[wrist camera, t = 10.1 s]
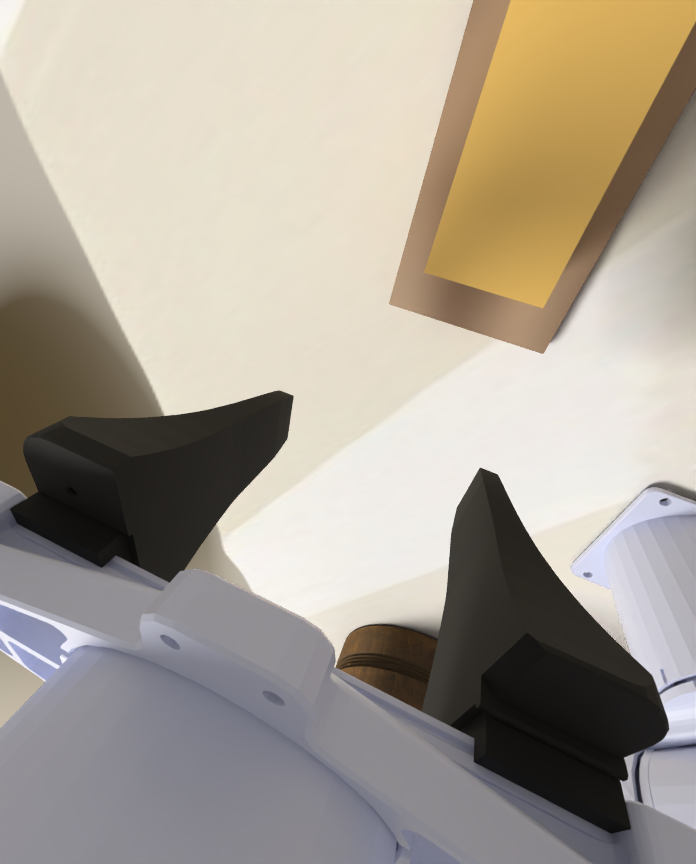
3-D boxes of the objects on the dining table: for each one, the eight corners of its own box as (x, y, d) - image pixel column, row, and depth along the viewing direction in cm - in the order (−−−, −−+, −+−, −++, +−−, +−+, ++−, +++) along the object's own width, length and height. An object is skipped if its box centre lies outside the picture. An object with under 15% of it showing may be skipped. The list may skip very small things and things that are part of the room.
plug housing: (683, -12, 11) (763, -108, 8) (533, 289, 16) (543, 308, 13) (535, -34, 12) (552, -131, 8) (437, 261, 17) (424, 272, 13)
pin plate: (800, -112, 10) (920, -242, 7) (540, 347, 18) (549, 372, 15) (518, -141, 11) (526, -260, 8) (393, 300, 19) (376, 314, 16)
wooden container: (330, 611, 37) (179, 975, 19) (481, 640, 31) (465, 1203, 13) (359, 689, 44) (266, 1014, 26) (488, 725, 38) (483, 1178, 20)
